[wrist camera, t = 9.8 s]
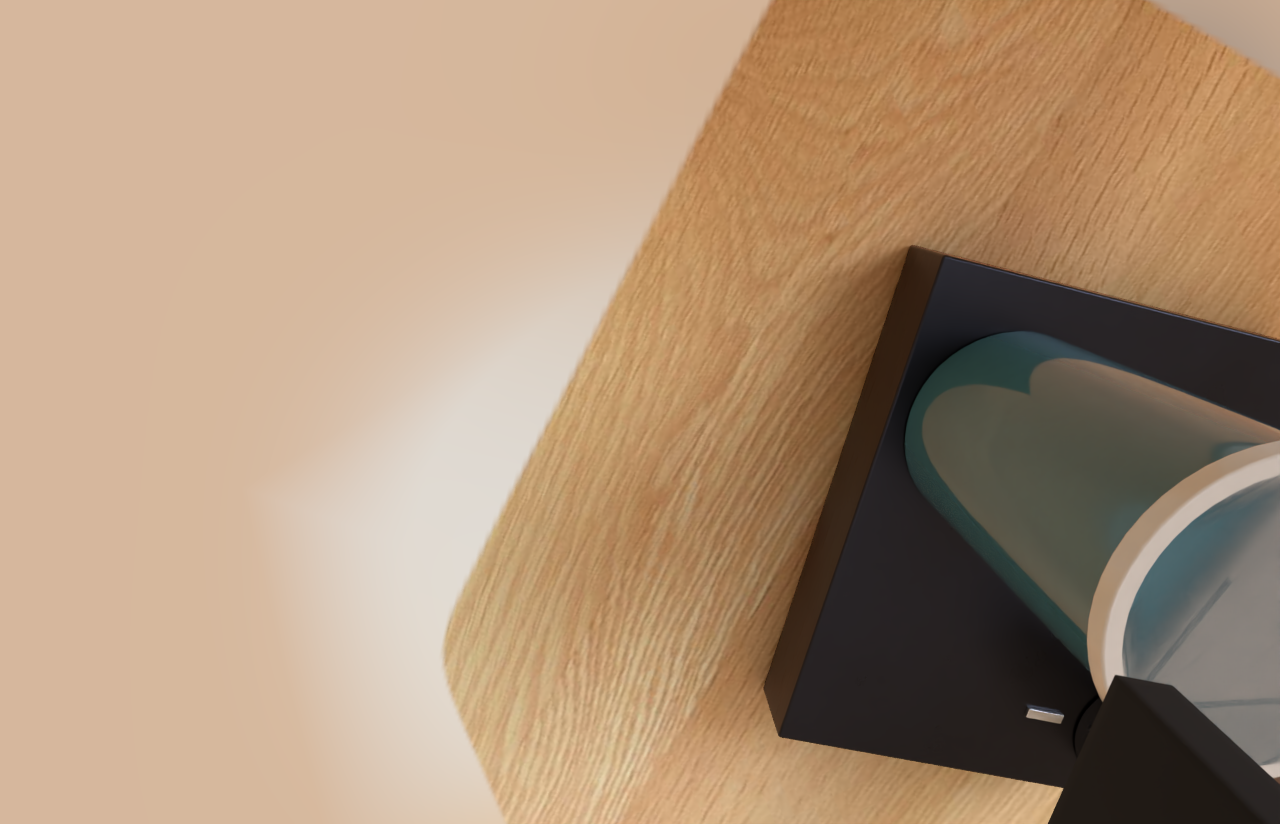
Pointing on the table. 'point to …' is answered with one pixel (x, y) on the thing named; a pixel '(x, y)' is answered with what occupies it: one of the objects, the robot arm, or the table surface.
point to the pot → (1117, 518)
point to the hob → (941, 560)
